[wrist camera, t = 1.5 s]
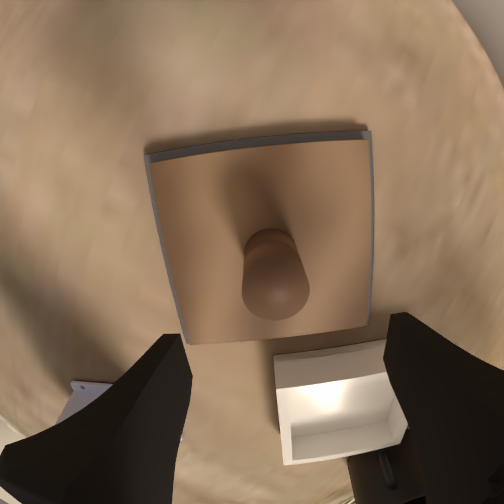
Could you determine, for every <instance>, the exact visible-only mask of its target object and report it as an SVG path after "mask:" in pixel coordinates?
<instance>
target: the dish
mask: <svg viewBox="0 0 504 504" xmlns="http://www.w3.org/2000/svg"><path fill="white" fill-rule="evenodd" d="M385 345H386V339H382V340H376V341H371V342H365V343H360V344H354V345H348V346H341V347H335V348H328V349H321V350H314V351H306V352H298V353H289V354H280V355H273V358H274V370H275V383H276V394H277V404H278V413H279V423H280V433H281V443H282V452H283V463H284V465H292V464H301V463H309V462H316V461H323V460H329V459H335V458H340V457H346V456H351V455H356V454H360V453H365V452H369V451H374V450H378V449H382V448H386V447H390V446H393V445H397V444H400V442H401V440H402V438H403V435H404V433H405V430H406V428H407V426H408V423H407V421H406V418H405V416H404V414H403V411H402V409H401V407H400V404H399V402H398V400H397V398H396V395H395V393H394V391H393V389H392V386H391V384H390V381H389V378H388V375H387V372H386V368H385V364H384V361H383V355H384V350H385Z"/></svg>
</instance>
